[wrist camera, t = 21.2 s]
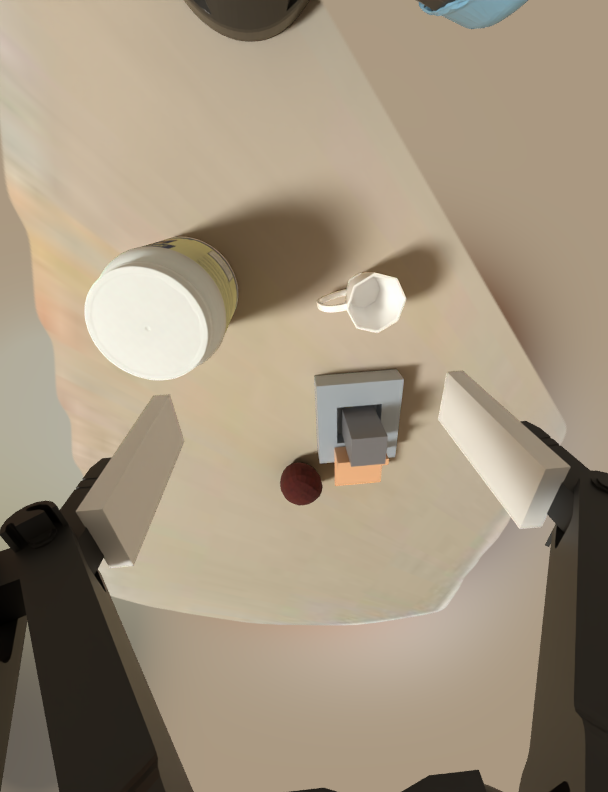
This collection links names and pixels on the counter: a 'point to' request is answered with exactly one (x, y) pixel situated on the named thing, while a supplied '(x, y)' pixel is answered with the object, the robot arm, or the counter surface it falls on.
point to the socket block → (356, 405)
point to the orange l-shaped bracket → (354, 470)
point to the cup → (369, 301)
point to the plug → (364, 436)
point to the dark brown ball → (300, 484)
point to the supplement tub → (162, 307)
